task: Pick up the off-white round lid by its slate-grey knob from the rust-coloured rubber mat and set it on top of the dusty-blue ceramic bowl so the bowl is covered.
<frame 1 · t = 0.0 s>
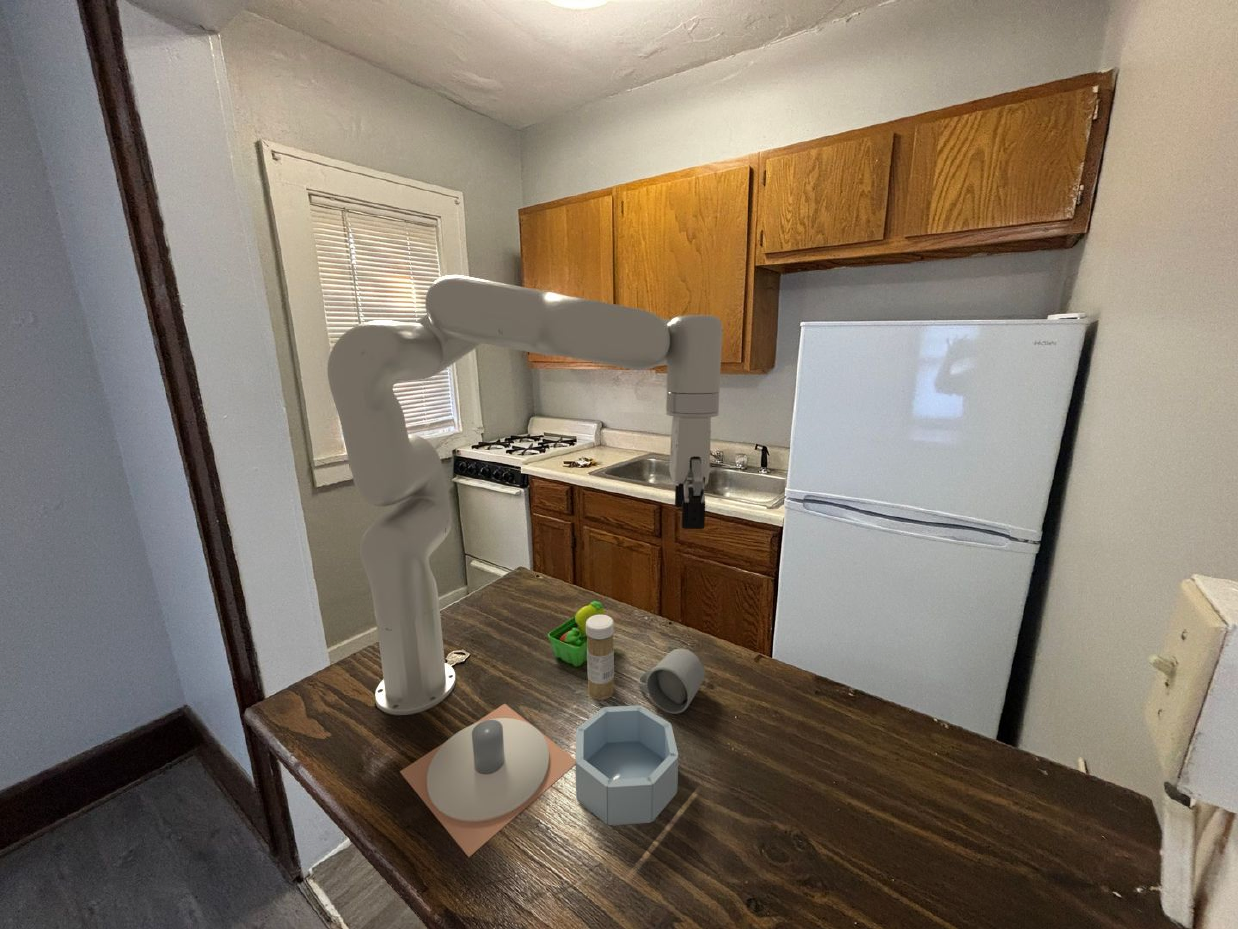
hand: (688, 516, 73), 31 cm above the table, tool pointing down, fingers open, 9 cm apart
fruit basket: (584, 653, 91), on the table
spice bottle: (600, 693, 80), on the table
lid: (490, 766, 65), resting on mat
ceramic mug: (668, 696, 79), on the table
bowl: (625, 779, 64), on the table
mat: (490, 769, 65), on the table
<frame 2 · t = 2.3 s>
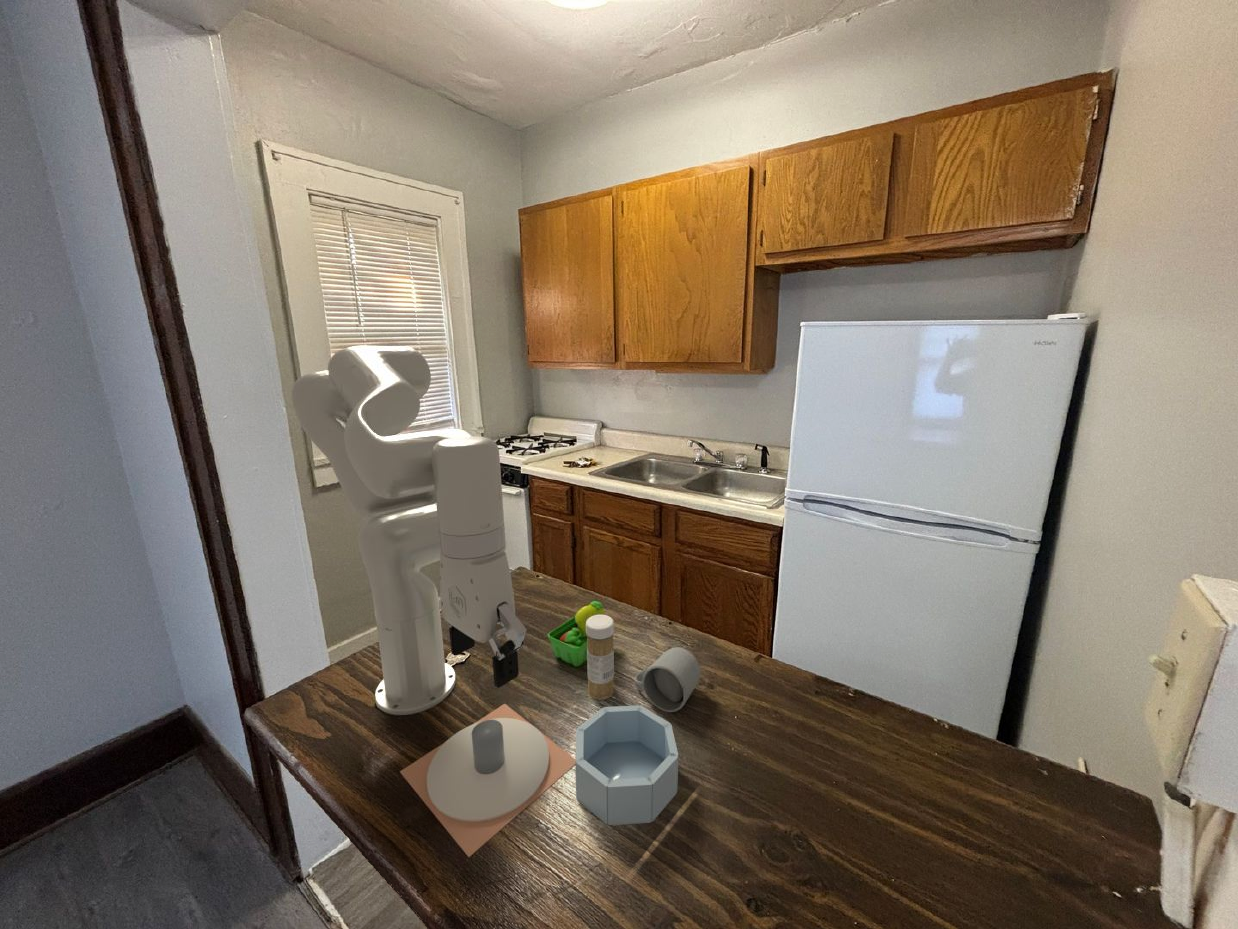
hand: (484, 665, 61), 17 cm above the table, tool pointing down, fingers open, 9 cm apart
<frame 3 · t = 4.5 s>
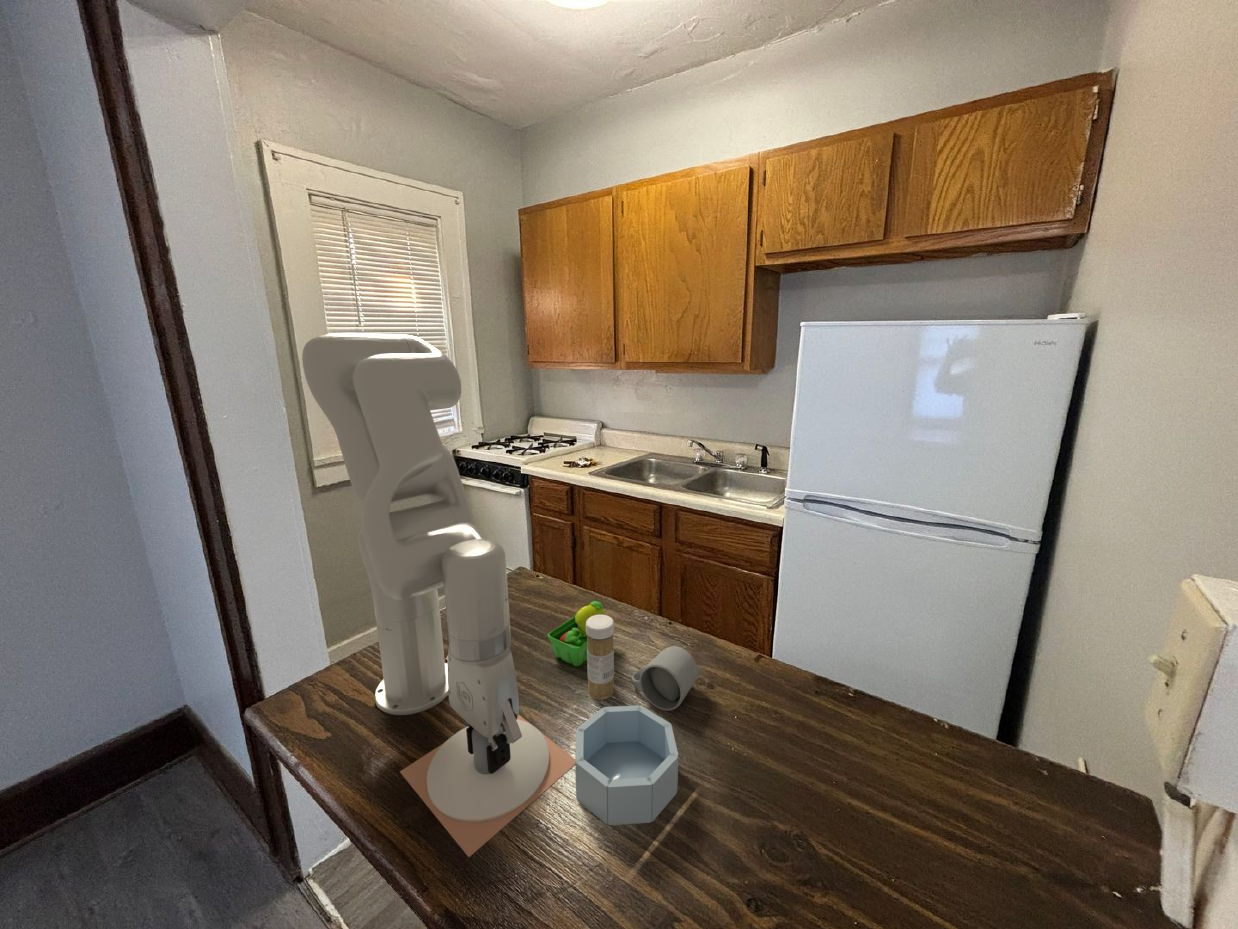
hand: (489, 755, 65), 2 cm above the table, tool pointing down, fingers closed on lid, 4 cm apart
lid: (490, 766, 65), resting on mat, touching gripper
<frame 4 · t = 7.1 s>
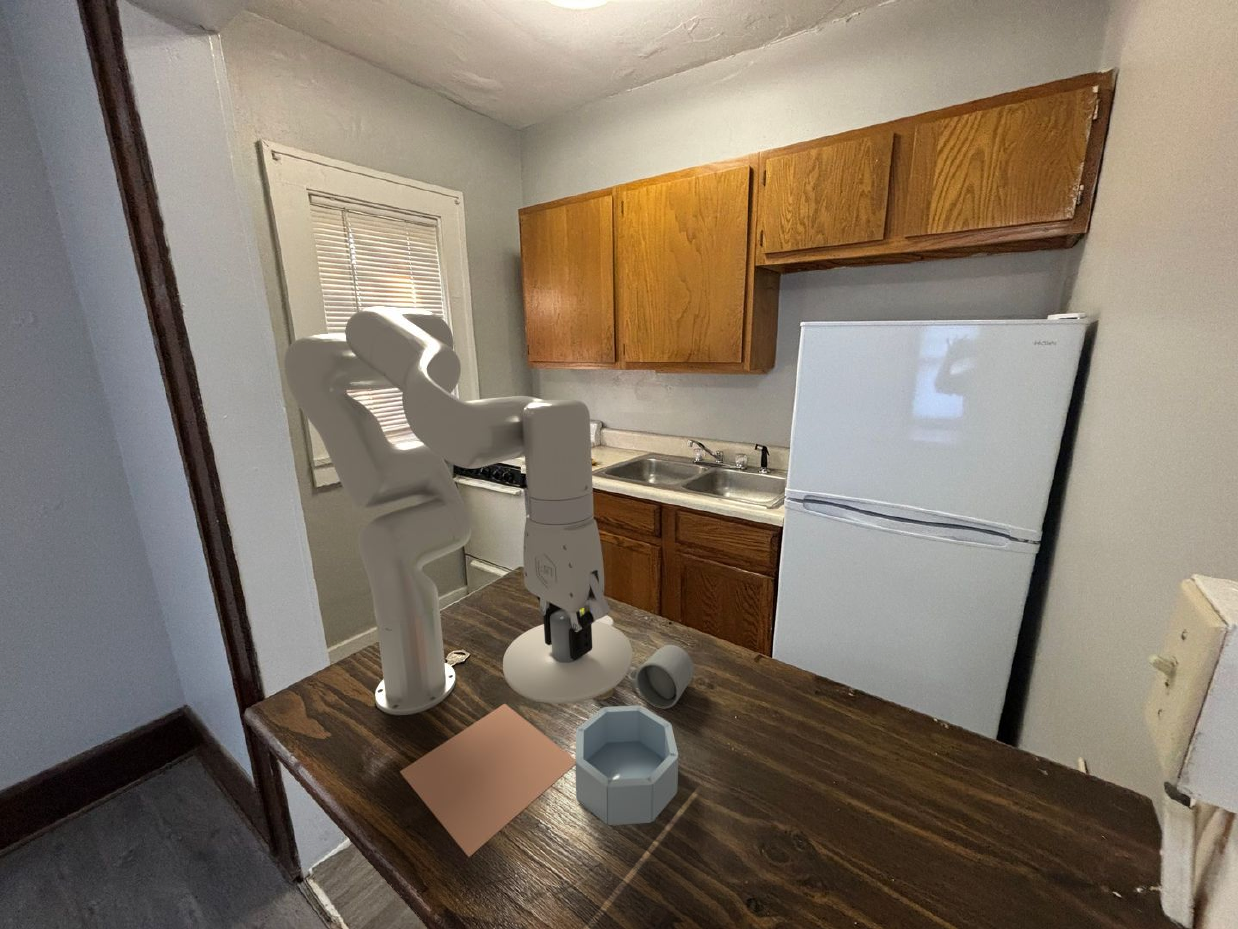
hand: (568, 645, 59), 20 cm above the table, tool pointing down, fingers closed on lid, 4 cm apart
lid: (568, 658, 60), point 18 cm above the table, touching gripper
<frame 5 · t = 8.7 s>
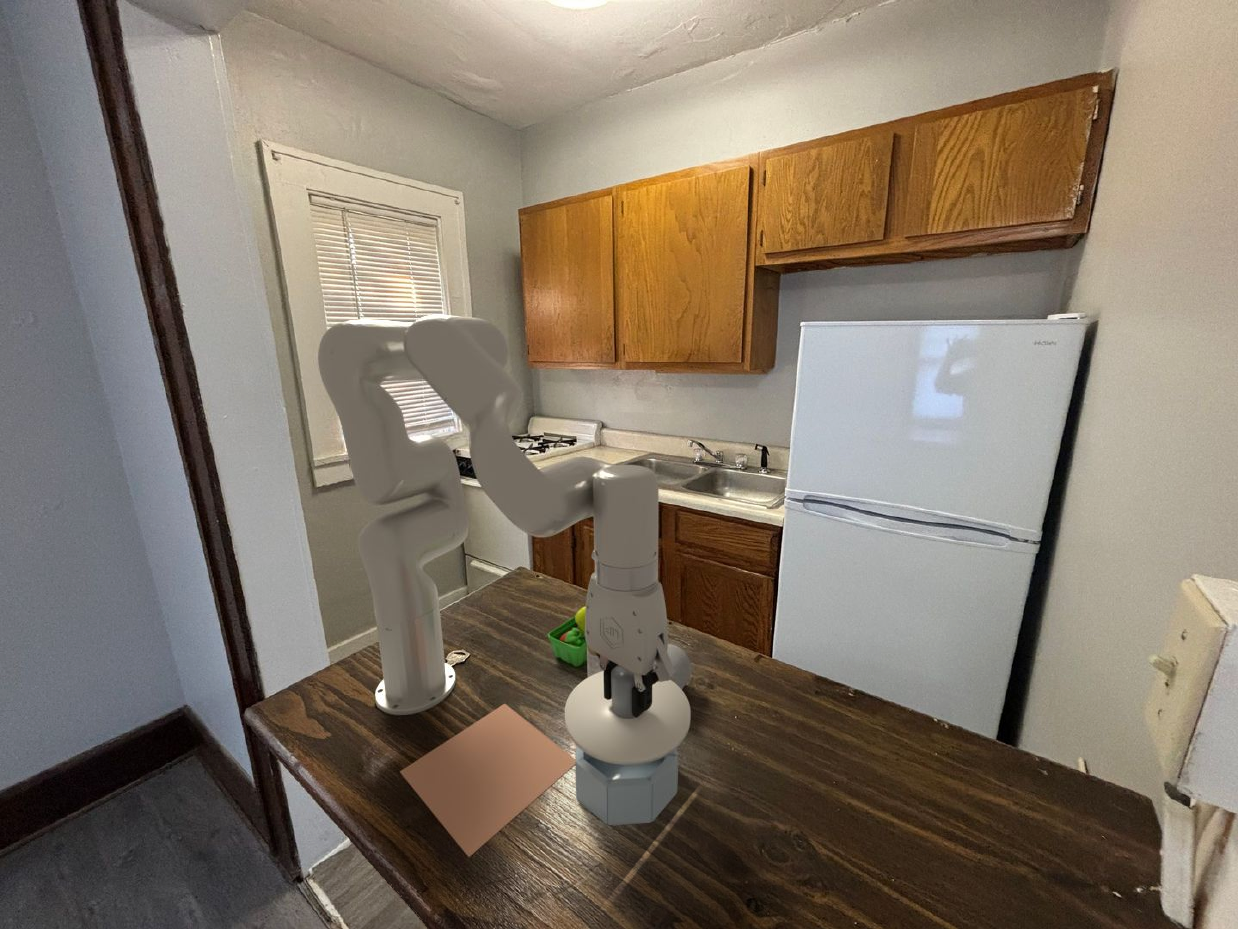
hand: (627, 700, 61), 12 cm above the table, tool pointing down, fingers closed on lid, 4 cm apart
lid: (627, 712, 61), point 11 cm above the table, touching gripper
when the fingers open (9 cm above the table, at t = 9.9 s): lid drops 1 cm, resting on bowl.
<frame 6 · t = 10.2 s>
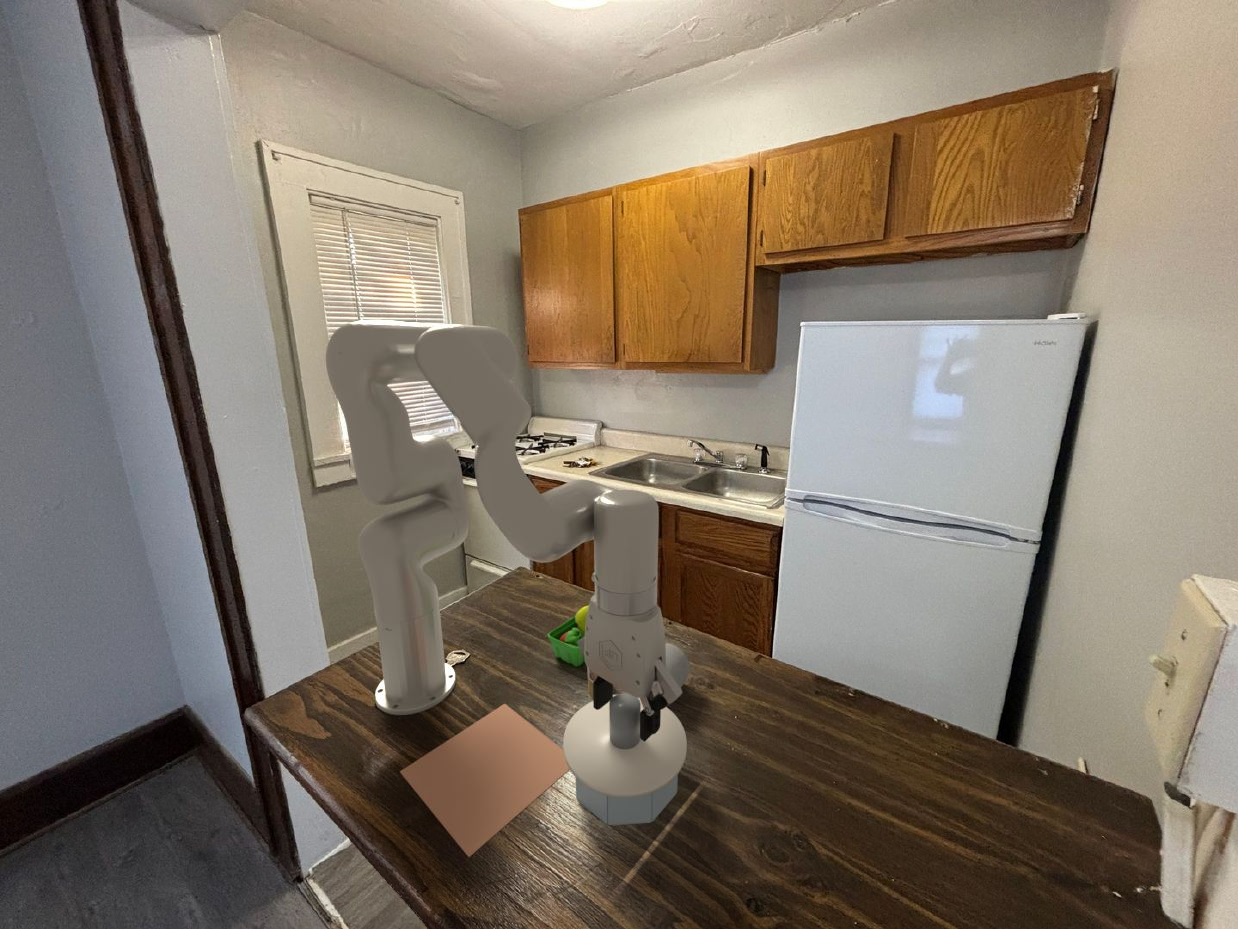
hand: (625, 717, 61), 10 cm above the table, tool pointing down, fingers open, 7 cm apart
lid: (624, 742, 62), point 6 cm above the table, touching bowl
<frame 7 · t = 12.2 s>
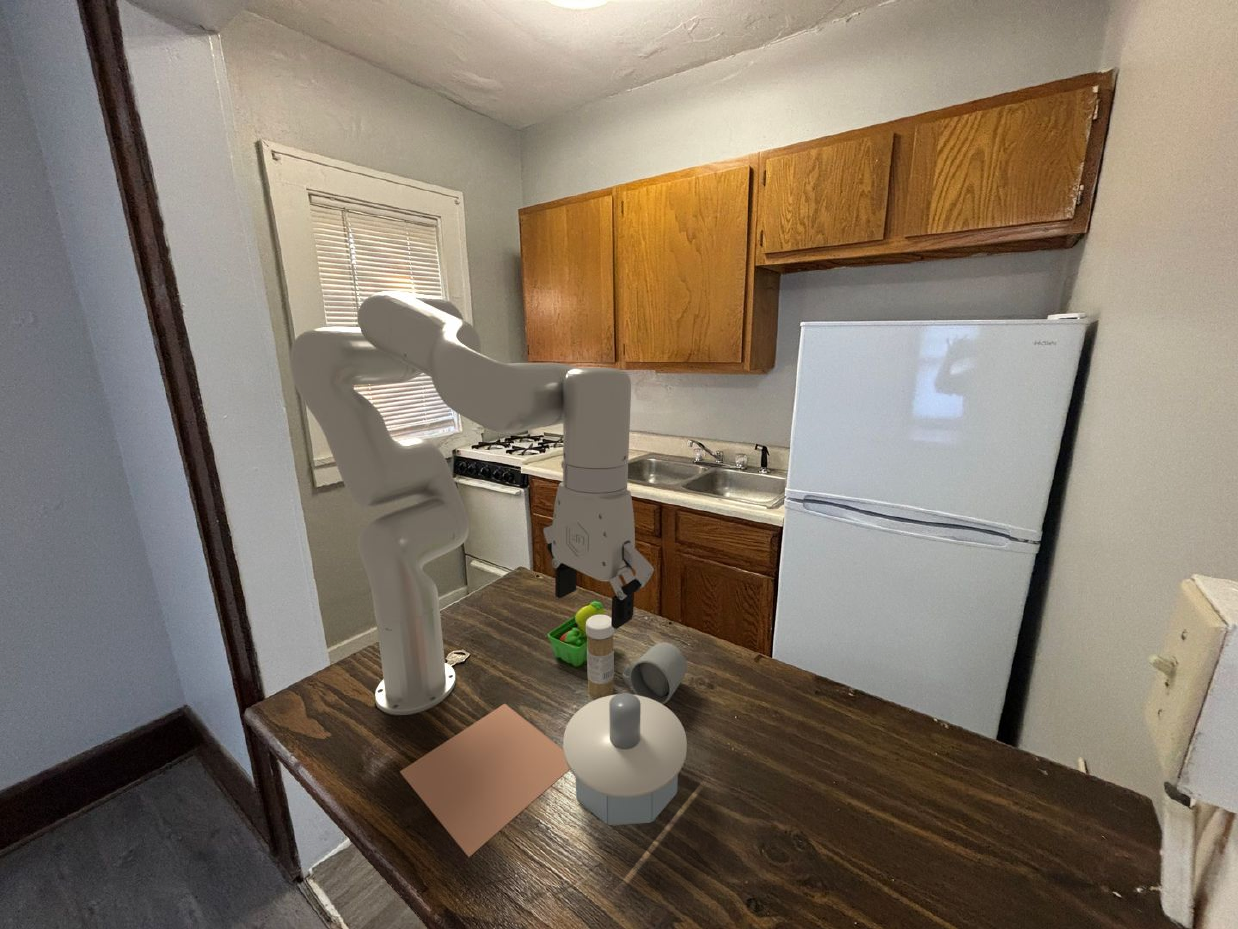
hand: (592, 608, 59), 25 cm above the table, tool pointing down, fingers open, 9 cm apart
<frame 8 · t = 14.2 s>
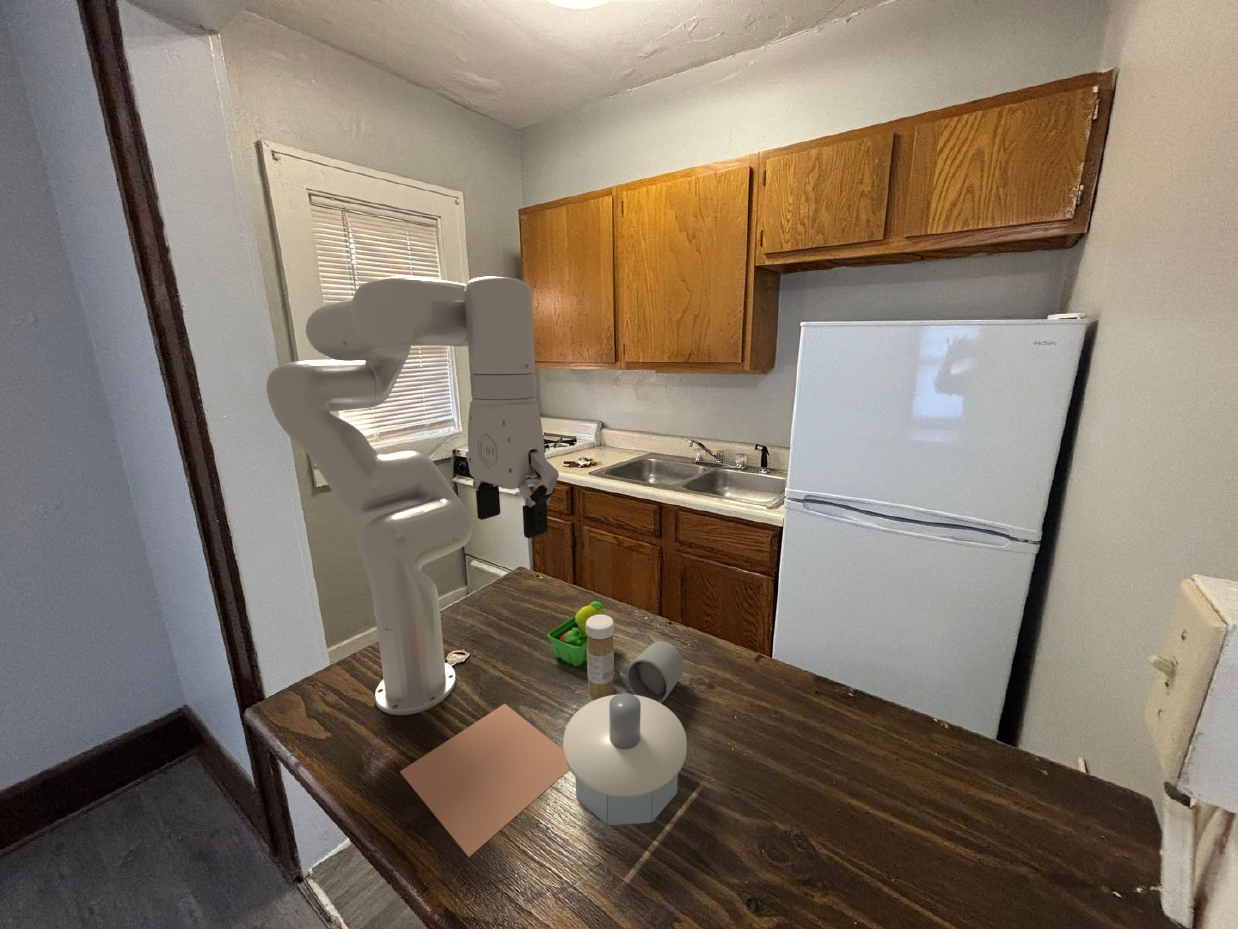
hand: (511, 525, 60), 34 cm above the table, tool pointing down, fingers open, 9 cm apart
at the end: lid 0.1 cm off-centre on the bowl, point 6.0 cm above the bowl's base; lid tilted 0°; the gripper is holding nothing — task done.
